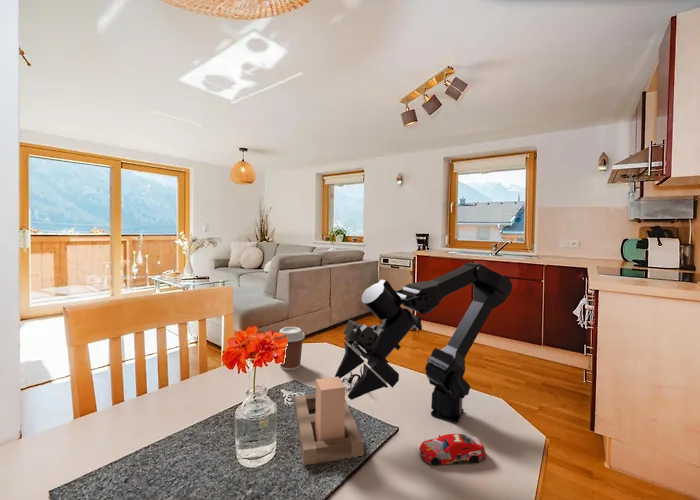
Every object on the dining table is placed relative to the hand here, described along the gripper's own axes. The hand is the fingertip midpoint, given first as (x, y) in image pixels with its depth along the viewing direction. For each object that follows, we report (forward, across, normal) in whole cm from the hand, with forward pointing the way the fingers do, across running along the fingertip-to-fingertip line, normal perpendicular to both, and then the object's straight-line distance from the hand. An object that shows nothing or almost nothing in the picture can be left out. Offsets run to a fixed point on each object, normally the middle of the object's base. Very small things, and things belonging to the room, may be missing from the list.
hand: (342, 387), depth 71 cm
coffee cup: (+12, -42, +5) cm, 43 cm away
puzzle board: (+10, -5, +7) cm, 13 cm away
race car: (-5, +11, +23) cm, 26 cm away
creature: (+2, -22, +15) cm, 27 cm away
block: (+10, 0, +6) cm, 12 cm away
